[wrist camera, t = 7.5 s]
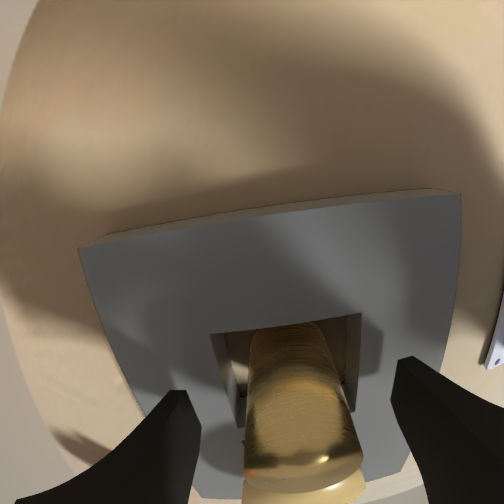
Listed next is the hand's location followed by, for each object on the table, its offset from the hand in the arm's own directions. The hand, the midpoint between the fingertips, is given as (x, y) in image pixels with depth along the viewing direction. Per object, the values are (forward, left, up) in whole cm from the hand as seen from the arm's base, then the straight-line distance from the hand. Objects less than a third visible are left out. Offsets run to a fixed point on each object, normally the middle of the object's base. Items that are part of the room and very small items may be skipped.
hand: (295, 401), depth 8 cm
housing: (0, +2, -3) cm, 4 cm away
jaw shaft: (0, 0, -3) cm, 3 cm away
